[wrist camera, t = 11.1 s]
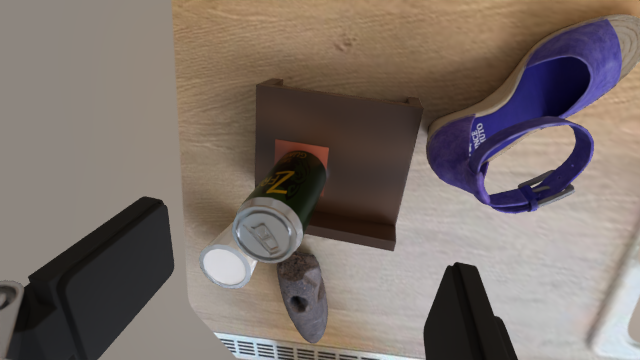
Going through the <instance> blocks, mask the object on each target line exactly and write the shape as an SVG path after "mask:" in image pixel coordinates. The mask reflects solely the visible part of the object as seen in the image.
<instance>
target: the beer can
mask: <svg viewBox="0 0 640 360" xmlns="http://www.w3.org/2000/svg"><path fill="white" fill-rule="evenodd" d="M326 179H327V178H326V170H325V167H324V165H323V163H322V162H321V161H320V160H319V158H318V157H316V156H315V155H313V154H312V153H310V152H306V151H303V150H295V151H292V152H288V153H287V154H285V155H284V156H283V157H281V159H280V160H279V161H278V162H277V163H276V165H275V166H274V167H273V168H272V169H271V170H270V172H269V173H268V174H267V175H266V176H265V178H264V179H263V180H262V181H261V182H260V184H259V185H258V186H257V187H256V188H255V189H254V191H253V192H252V193H251V194H250V195H249V197H248V198H247V199H246V200H245V201H244V202H243V204H242V205H241V206H240V208H239V210H238V211H237V213H236V218H235V220H234V221H233V227H232V232H233V237H234V240H235V242H236V243H237V245H238V247H239V248H240V249H241V250H242V251H243V252H244V253H245V254H246V255H248V256H249V257H251V258H252V259H254V260H257V261H260V262H263V263H277V262H282V261H284V260H285V259H287V258H289V257H290V256H291V254H292V253H293V252H294V251H295V250H296V249H297V248H298V247H299V245H300V244H301V242H302V239H303V237H304V234H305V232H306V230H307V227H308V225H309V222H310V220H311V217H312V215H313V213H314V210H315V208H316V205H317V203H318V200H319V198H320V196H321V193H322V191H323V188H324V186H325V183H326Z"/></svg>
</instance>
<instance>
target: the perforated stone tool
mask: <svg viewBox="0 0 640 360" xmlns="http://www.w3.org/2000/svg"><path fill="white" fill-rule="evenodd" d="M277 274H278V280H279V285H280V289H281V294H282V297H283V300H284V303H285V306H286V309H287V311H288V314H289V316H290V318H291V320H292V321H293V323H294V325H295V327H296V328H297V330H298V331H299V333H300V334H301V336H302V337H303V338H304V339H305V340H306V341H308V342H310V343H317V342H318V341H319V340H320V339H321V338H322V336H323V334H324V331H325V328H326V324H327V317H328V306H327V299H326V292H325V287H324V283H323V279H322V277H321V269H320V266H319V263H318V261H317V260H316V258H315V256H314V255H309V254H304V253H301V252H297V251H294V252H293V253H292V254H291V256H290V257H289V258H287V259H285V260H284V261H282V262H278V264H277Z"/></svg>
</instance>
